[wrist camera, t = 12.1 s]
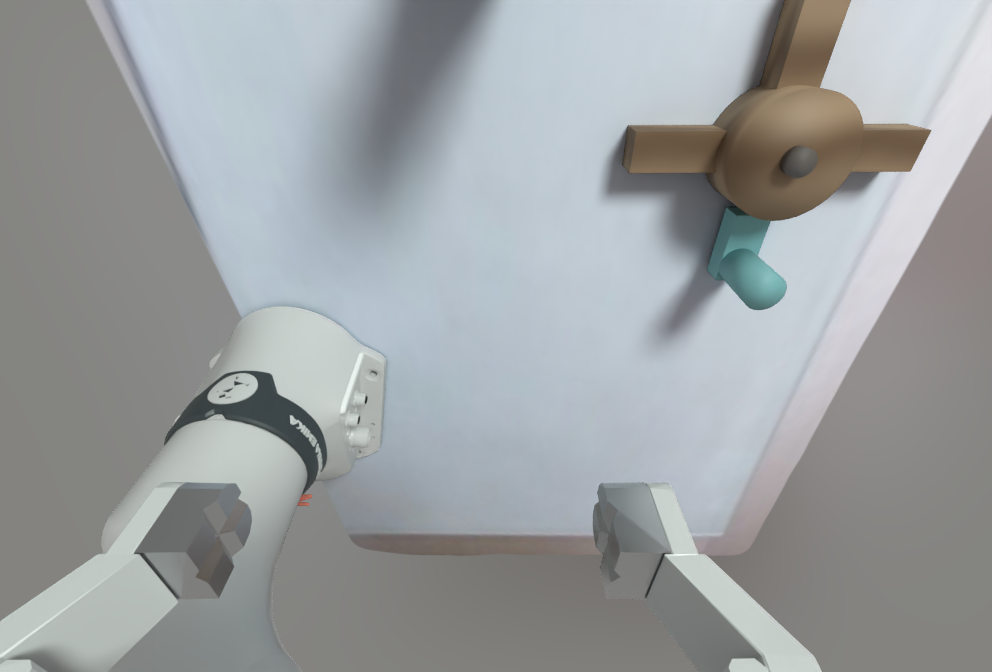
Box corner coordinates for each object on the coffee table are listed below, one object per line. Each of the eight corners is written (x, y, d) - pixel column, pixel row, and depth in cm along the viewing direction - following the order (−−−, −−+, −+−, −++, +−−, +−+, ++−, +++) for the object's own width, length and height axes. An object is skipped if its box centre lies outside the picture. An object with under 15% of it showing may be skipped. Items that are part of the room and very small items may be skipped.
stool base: (870, 199, 39) (924, 224, 34) (616, 200, 39) (634, 226, 34) (980, -31, 30) (1075, -42, 25) (651, -29, 30) (682, -40, 25)
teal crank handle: (725, 207, 39) (765, 239, 33) (761, 207, 39) (808, 239, 33) (705, 271, 42) (738, 309, 36) (739, 271, 42) (777, 310, 36)
